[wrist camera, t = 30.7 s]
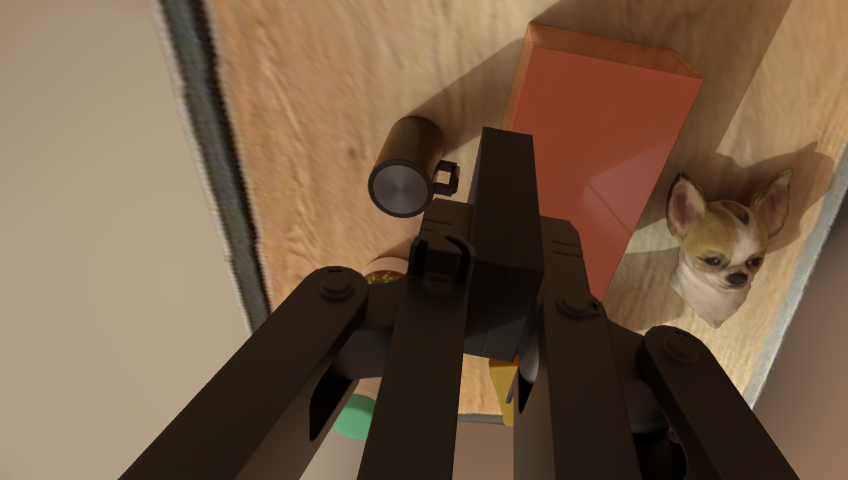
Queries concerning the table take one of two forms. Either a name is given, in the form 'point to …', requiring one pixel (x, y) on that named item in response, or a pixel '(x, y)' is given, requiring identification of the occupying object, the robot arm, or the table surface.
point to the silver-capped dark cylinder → (411, 169)
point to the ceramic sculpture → (722, 242)
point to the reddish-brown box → (589, 46)
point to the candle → (504, 384)
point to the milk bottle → (364, 397)
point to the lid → (599, 143)
